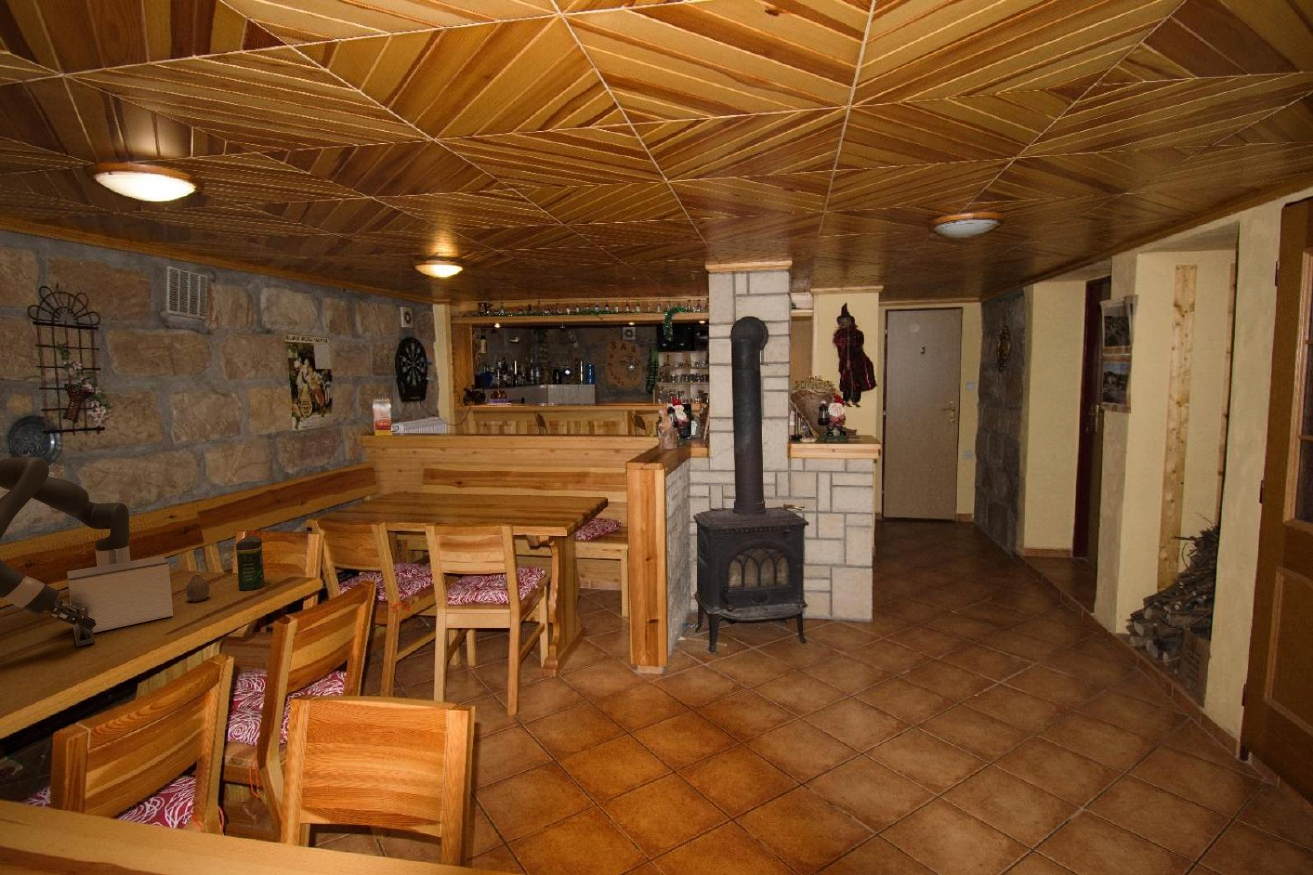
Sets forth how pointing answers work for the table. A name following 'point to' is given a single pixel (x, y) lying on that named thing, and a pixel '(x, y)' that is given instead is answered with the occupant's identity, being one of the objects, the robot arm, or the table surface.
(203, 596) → the vase
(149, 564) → the block
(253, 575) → the coffee jar
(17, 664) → the table surface
